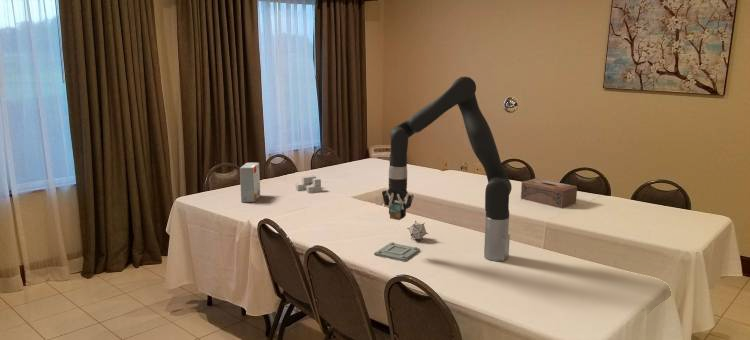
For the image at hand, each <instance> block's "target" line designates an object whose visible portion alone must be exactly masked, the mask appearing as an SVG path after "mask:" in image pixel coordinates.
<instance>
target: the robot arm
mask: <svg viewBox="0 0 750 340" xmlns="http://www.w3.org/2000/svg"><path fill="white" fill-rule="evenodd" d="M476 90H477V85H476V82H475V80H473V79H472V78H471V77H469V76H460V77H459V78H457V79H455V80H454V82H453V83H452V85H451V86H450V87H448V89H447V90H446V91H445V92H444V93H442V94H441V95H440V96H438V97H437V98H436V99H434V100H433V101H431V102H429V103H428V104H427V105H425V106H423V107H422V108H420V109H419V110H418V111H416V112H415V113H414V114H413V115H411V116H410V117H409V118H408V119H405V120H404V121H401V123H398V124H397V125H395V126H394V127H393V128H392V129H391V130H390V132H389V138H390V153H389V168H388V189H387V190H386V189H385V190H383V191H381V193H382V198H383V203H384V205H385V206H387V207H388V215H390V204H392V203H394V202H399V204H400V205H401V218H403V219H404V218H405V217H406V215H407V210H408V209H409V208H411V206H412V203H413V200H414V194H410V193H409V192H408V190H407V188H408V148H409V147H408V146H409V139H410V137H412V136H413V135H414V134H415V135H416V134H417V133H420V132H422V131H423V130H424V129H425V128H427V127H429V126H430V125H431V124H433V123H434V122H435V121H436V120H438V119H439V118H440V117H441V116H443V115H444V114H445V113H446V112H448V111H449V110H450V109H452V108H453V107H455V106H458V109H459V111H460V113H461V117H462V119H463V123H464V124H463V125H464V128H465V130H466V131H465V132H466V134H467V138H468V140H469V144H470V147H471V148H472V151H473V153H474V155H475V156H476V158H477V159H478V161H479V162H480V164H481V165H482V168H484V169H483V171H484V172H485V175H486V179H487V185H486V187H485V193H484V194H485V195H484V210H485V225H484V226H485V227H484V247H483V248H484V249H483V250H484V251H483V257H484V258H485V259H487V260H489V261H494V262H497V261H498V262H505V261H506V260H507V259H508V258H509V257H510V237H511V234H509V230H510V228H509V226H510V209H509V208H510V205H509V203H510V194H511V192H512V190H513V189H512V183H511V181H510V178H509V176H508V175H507V172H506V171H505V168H504V166H503V164H502V161H501V157H500V155H499V151H498V147H497V145H496V141H495V139H494V135H493V133H492V130H491V128H490V126H489V123H488V122H487V119H486V117H485V116H484V115H483V113H482V111H481V108H480V107H479V104H478V103H479V102H478V100H477V96H476ZM389 196H390V197H389ZM406 199H407V200H406Z"/></svg>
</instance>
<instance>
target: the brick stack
mask: <svg viewBox="0 0 750 340" xmlns="http://www.w3.org/2000/svg"><path fill="white" fill-rule="evenodd" d="M389 219H392V220H397V221H400V220H402V219H404V218H401V205H400V204H399V201H395V202H394V203H392V204H390V214H389Z"/></svg>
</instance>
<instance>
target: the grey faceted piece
mask: <svg viewBox="0 0 750 340" xmlns="http://www.w3.org/2000/svg"><path fill="white" fill-rule="evenodd" d="M407 229H408V230H409V233H410V236H411V237H410V239H415V240H418V241H419V242H421V240H422V238H423V237H425V236H426V235H429V233H428V232H427V229H426V227H425V222H424V223H420V222H417V220H415V221H414V223H413V224H412V225H411V226H410V227H407Z"/></svg>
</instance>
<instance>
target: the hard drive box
mask: <svg viewBox="0 0 750 340" xmlns="http://www.w3.org/2000/svg"><path fill="white" fill-rule="evenodd" d="M260 176H261V175H260V162H246V163H244V164H243V165H242V166H241V167H239V177H240V178H239V179H240V180H239V183H240V184H239V185H240V202H241V203H255V202H256V201H257V200H258V199H259V198H260V197H261V179H260V178H261V177H260Z"/></svg>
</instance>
